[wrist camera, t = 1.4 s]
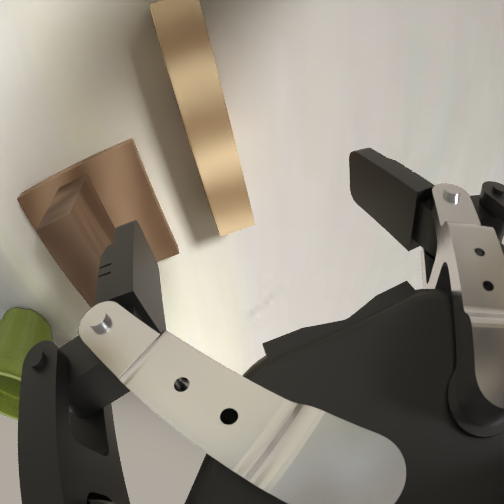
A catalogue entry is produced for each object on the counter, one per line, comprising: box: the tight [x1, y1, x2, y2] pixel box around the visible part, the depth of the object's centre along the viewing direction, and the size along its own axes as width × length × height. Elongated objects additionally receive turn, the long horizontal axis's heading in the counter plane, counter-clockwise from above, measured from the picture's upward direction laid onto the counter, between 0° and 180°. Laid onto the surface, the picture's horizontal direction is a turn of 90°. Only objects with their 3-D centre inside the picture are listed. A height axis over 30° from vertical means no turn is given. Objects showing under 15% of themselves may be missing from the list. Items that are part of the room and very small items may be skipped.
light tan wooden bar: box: [150, 0, 255, 236], centre depth 22 cm, size 20×3×4 cm, turn 12°
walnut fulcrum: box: [17, 138, 179, 308], centre depth 23 cm, size 12×12×8 cm
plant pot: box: [0, 307, 52, 420], centre depth 26 cm, size 12×12×11 cm
